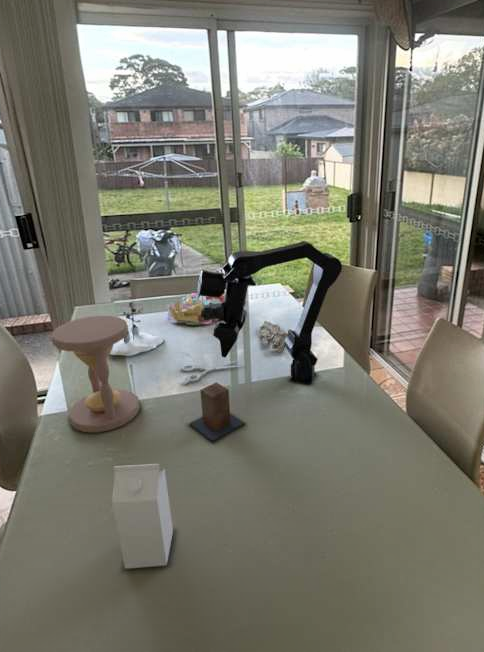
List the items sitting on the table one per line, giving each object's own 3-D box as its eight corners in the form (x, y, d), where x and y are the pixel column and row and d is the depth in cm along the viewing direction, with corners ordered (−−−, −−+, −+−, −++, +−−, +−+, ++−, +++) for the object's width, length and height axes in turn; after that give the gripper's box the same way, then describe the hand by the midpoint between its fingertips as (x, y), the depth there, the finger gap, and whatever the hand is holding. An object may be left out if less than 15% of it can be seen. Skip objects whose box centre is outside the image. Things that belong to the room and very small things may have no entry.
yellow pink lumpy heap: (221, 327, 172) (220, 305, 169) (162, 327, 172) (159, 305, 169) (230, 304, 195) (229, 284, 192) (177, 304, 196) (175, 285, 192)
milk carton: (134, 534, 82) (119, 452, 75) (173, 532, 83) (162, 449, 76) (124, 569, 76) (107, 482, 69) (166, 566, 76) (154, 479, 69)
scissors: (177, 367, 141) (236, 354, 148) (177, 369, 141) (237, 356, 148) (183, 382, 132) (246, 369, 139) (183, 385, 132) (247, 371, 139)
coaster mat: (220, 409, 120) (220, 407, 120) (244, 424, 113) (244, 422, 113) (189, 425, 113) (189, 423, 113) (213, 442, 107) (212, 440, 107)
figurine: (138, 361, 144) (134, 313, 140) (93, 353, 149) (88, 307, 145) (172, 341, 162) (170, 299, 158) (131, 336, 168) (127, 294, 163)
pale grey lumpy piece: (298, 344, 151) (290, 333, 149) (274, 363, 150) (265, 352, 148) (277, 323, 174) (270, 314, 172) (256, 339, 173) (249, 330, 171)
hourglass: (71, 403, 123) (53, 321, 114) (136, 390, 129) (124, 311, 120) (69, 440, 108) (48, 349, 99) (143, 423, 114) (130, 335, 105)
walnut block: (218, 415, 117) (216, 382, 113) (230, 422, 113) (228, 389, 110) (203, 423, 113) (200, 389, 110) (215, 431, 110) (212, 397, 106)
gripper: (213, 284, 129) (206, 333, 133) (197, 302, 111) (190, 358, 116) (250, 291, 129) (242, 340, 133) (241, 311, 111) (231, 366, 116)
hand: (226, 350), depth 124 cm, fingers open, 9 cm apart
